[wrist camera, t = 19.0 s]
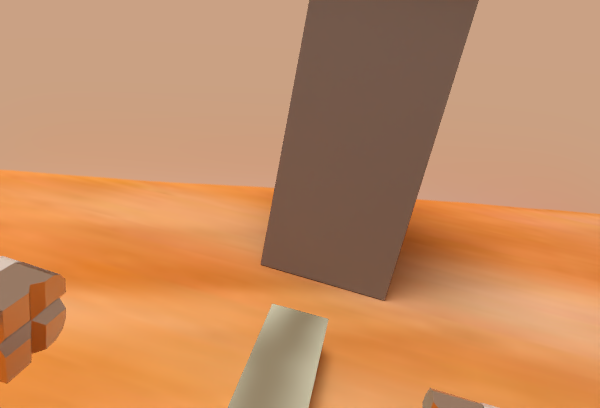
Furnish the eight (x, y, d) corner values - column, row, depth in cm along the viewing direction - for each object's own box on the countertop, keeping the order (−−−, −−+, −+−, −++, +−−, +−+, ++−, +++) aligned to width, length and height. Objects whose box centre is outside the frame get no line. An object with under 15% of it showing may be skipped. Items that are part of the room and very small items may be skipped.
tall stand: (411, 245, 46) (508, -53, 36) (410, 315, 35) (547, -84, 25) (274, 208, 48) (329, -86, 38) (232, 263, 37) (294, -128, 27)
